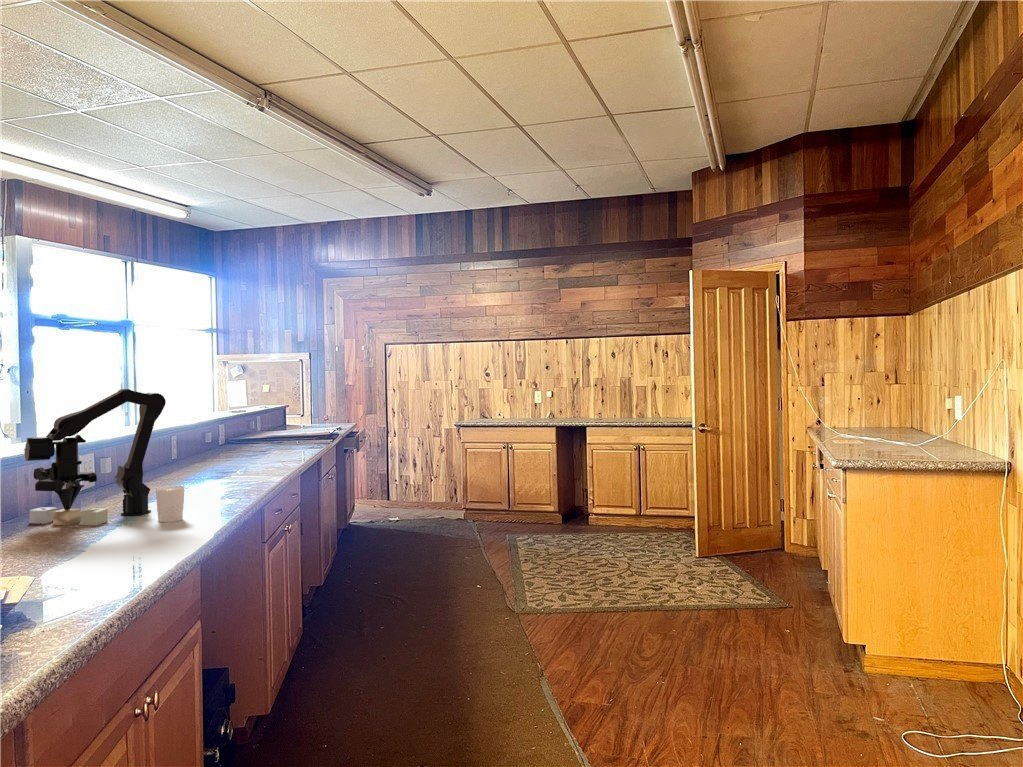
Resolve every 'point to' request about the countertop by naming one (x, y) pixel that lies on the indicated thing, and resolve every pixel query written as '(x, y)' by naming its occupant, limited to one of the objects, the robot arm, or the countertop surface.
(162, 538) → the countertop surface
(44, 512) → the white die
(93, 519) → the sage block one
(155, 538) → the countertop surface
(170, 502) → the white cup
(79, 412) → the robot arm
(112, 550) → the countertop surface
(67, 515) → the birch block
